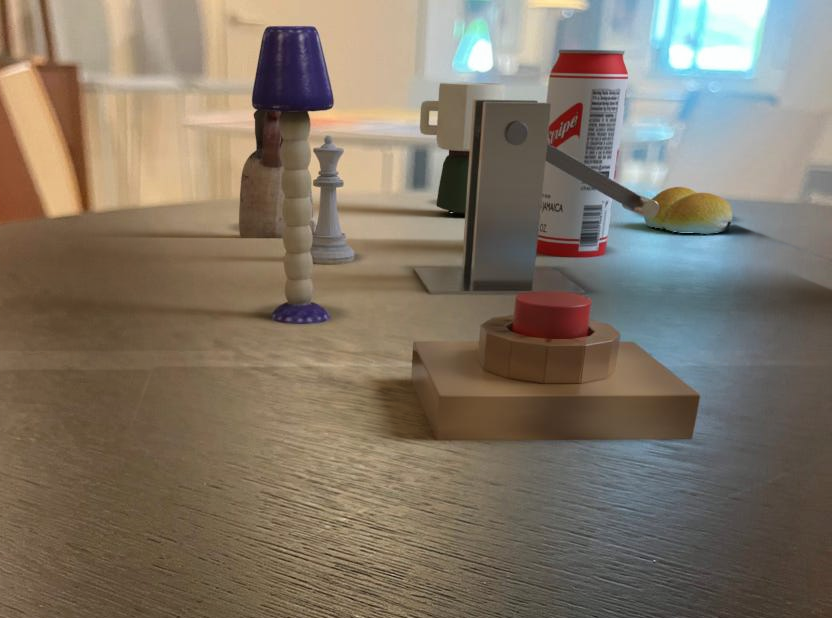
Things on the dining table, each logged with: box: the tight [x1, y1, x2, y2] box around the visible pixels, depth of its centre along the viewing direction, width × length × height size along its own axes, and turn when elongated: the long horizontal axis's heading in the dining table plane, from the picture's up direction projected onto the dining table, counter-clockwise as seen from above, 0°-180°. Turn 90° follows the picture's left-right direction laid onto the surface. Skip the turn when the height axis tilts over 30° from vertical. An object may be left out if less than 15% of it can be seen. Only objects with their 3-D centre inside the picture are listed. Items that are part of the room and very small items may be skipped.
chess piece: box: [310, 134, 356, 265], centre depth 80 cm, size 4×4×10 cm
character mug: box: [419, 82, 506, 213], centre depth 112 cm, size 11×7×13 cm, turn 76°
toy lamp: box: [251, 25, 335, 325], centre depth 60 cm, size 5×5×17 cm
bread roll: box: [643, 186, 733, 233], centre depth 107 cm, size 8×9×4 cm
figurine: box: [238, 109, 317, 240], centre depth 93 cm, size 7×7×12 cm
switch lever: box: [480, 136, 659, 219], centre depth 72 cm, size 13×5×2 cm, turn 94°
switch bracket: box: [414, 99, 586, 296], centre depth 73 cm, size 11×9×13 cm
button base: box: [410, 314, 701, 442], centre depth 50 cm, size 12×10×4 cm
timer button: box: [512, 291, 592, 339], centre depth 49 cm, size 4×4×2 cm
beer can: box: [536, 49, 629, 259], centre depth 84 cm, size 6×6×16 cm
